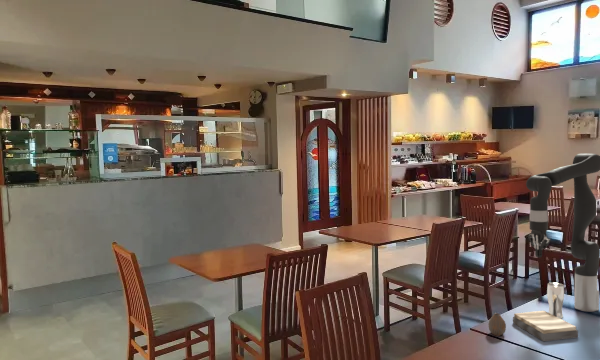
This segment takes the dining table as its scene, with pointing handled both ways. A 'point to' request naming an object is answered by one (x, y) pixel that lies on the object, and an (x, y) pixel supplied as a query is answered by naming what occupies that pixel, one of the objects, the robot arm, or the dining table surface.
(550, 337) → the floor board
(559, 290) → the metal can
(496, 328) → the vase
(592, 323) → the dining table surface
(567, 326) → the oak plank
